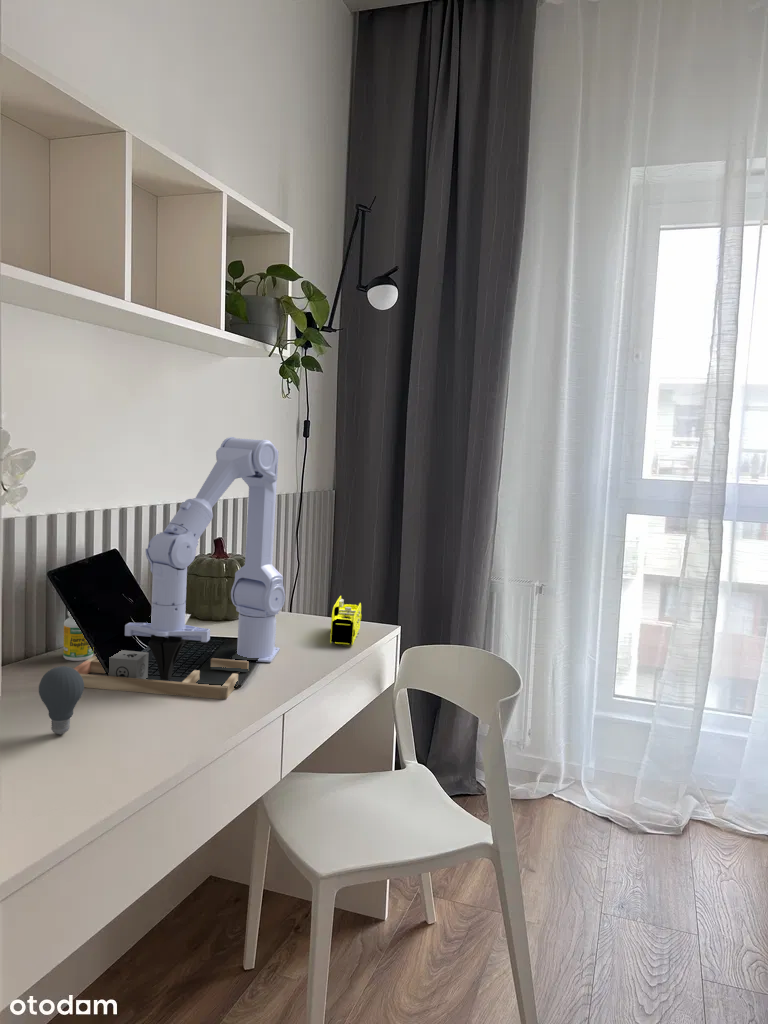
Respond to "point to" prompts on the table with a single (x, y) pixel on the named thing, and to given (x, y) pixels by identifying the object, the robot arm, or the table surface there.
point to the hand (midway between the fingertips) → (165, 678)
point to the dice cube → (129, 664)
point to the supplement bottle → (75, 642)
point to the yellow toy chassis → (345, 623)
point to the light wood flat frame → (159, 686)
